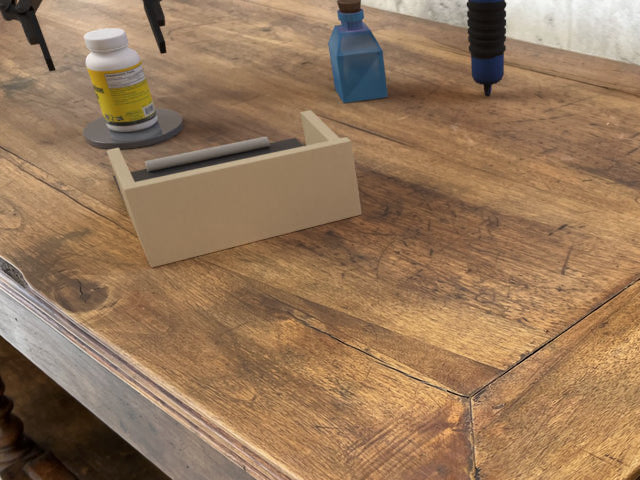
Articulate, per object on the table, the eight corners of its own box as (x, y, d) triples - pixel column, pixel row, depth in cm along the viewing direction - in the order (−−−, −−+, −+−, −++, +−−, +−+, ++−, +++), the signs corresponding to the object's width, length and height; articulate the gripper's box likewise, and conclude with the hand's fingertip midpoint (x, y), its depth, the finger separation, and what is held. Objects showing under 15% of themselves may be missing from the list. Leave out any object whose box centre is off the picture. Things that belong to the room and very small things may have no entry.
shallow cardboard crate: (151, 268, 75) (124, 189, 70) (115, 182, 90) (90, 112, 85) (362, 214, 83) (351, 140, 78) (297, 143, 98) (284, 77, 93)
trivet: (91, 156, 96) (89, 150, 95) (79, 124, 104) (77, 118, 103) (193, 136, 100) (191, 130, 100) (173, 107, 108) (172, 101, 108)
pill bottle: (105, 120, 103) (75, 30, 96) (156, 112, 105) (129, 23, 98) (108, 137, 98) (76, 43, 91) (161, 128, 100) (133, 36, 93)
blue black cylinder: (505, 82, 115) (502, -77, 102) (525, 99, 109) (525, -66, 96) (452, 89, 113) (442, -72, 100) (470, 108, 107) (462, -60, 94)
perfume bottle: (335, 88, 113) (321, -3, 106) (377, 83, 115) (366, -7, 108) (343, 103, 109) (329, 9, 101) (387, 96, 111) (377, 3, 103)
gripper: (155, -84, 111) (207, 56, 110) (-48, -65, 102) (7, 88, 101) (150, -125, 104) (206, 24, 103) (-68, -108, 95) (-9, 56, 94)
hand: (108, 56), depth 102 cm, fingers open, 13 cm apart
